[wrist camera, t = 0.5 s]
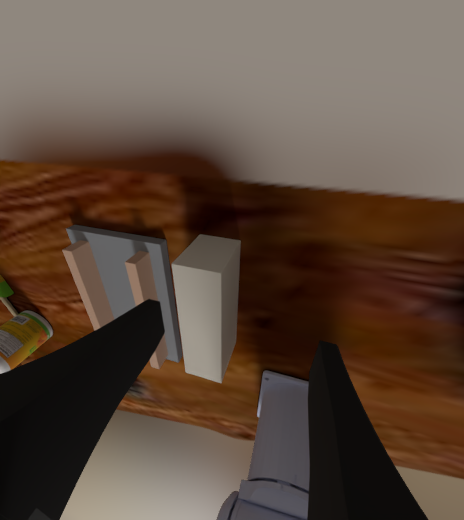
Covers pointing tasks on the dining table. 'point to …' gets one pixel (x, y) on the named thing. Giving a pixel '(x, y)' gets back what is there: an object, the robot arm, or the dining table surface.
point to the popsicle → (6, 295)
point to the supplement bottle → (22, 338)
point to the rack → (124, 280)
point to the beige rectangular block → (208, 303)
